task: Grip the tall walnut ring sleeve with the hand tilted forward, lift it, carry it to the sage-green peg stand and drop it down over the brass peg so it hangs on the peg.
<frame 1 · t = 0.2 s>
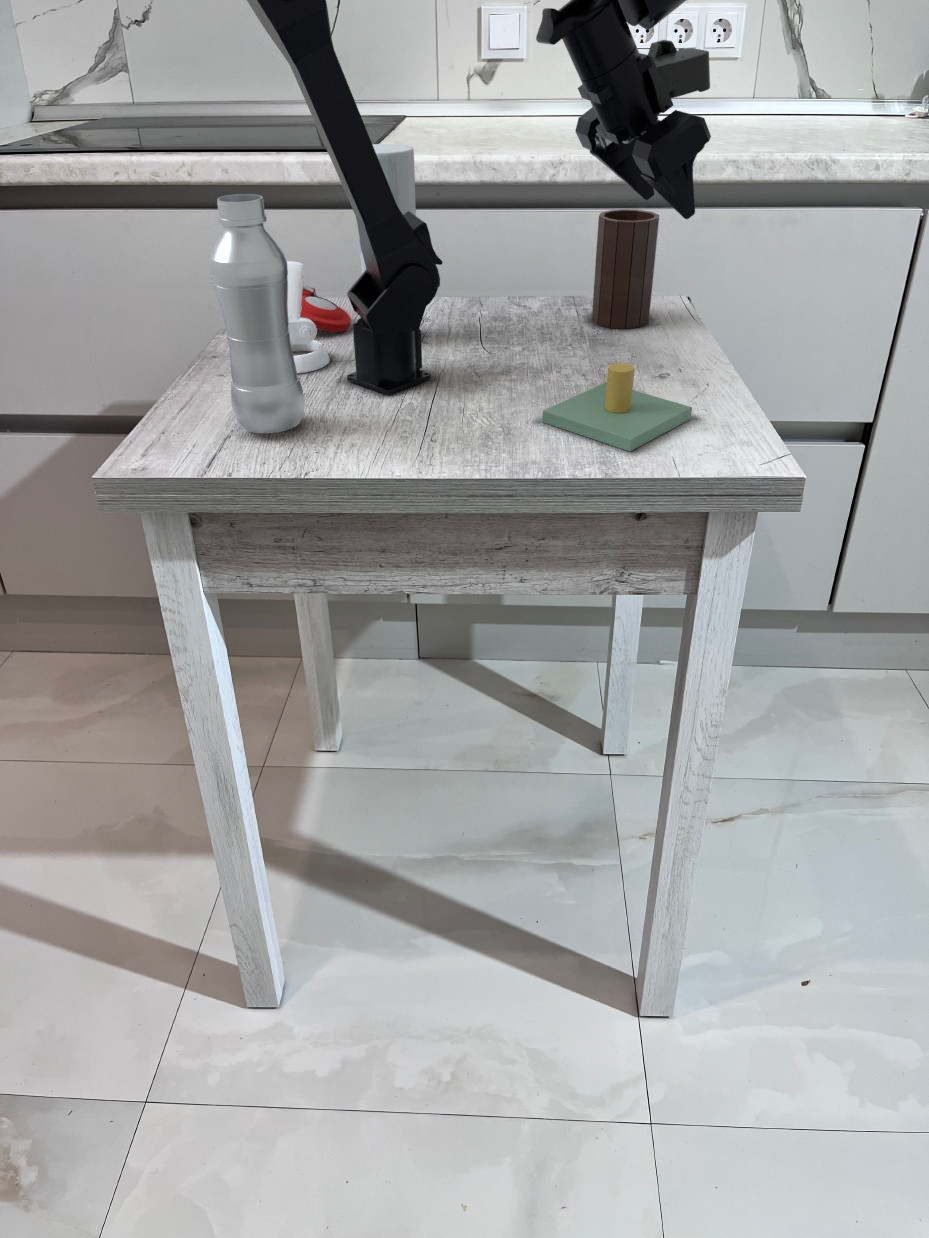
hand: (669, 206, 97), 15 cm above the table, tool tilted 30°, fingers open, 9 cm apart
plastic bottle: (271, 430, 88), on the table
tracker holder: (314, 325, 114), on the table
peg stand: (616, 420, 88), on the table
spray can: (393, 339, 109), on the table
sleeve: (620, 320, 114), on the table
white upright ring-based piece: (294, 363, 103), on the table
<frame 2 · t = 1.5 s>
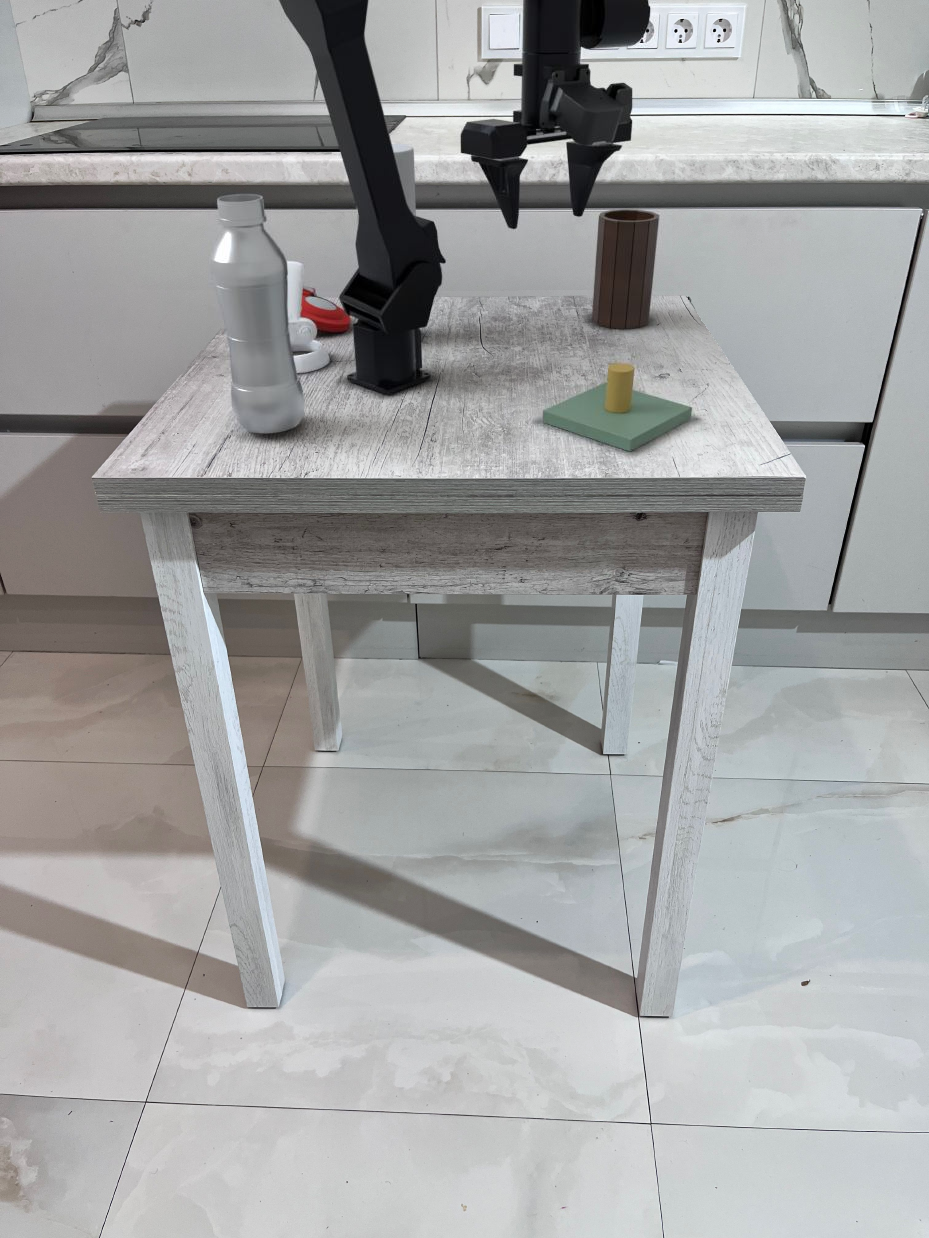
hand: (545, 222, 100), 13 cm above the table, tool pointing down, fingers open, 9 cm apart
nothing on the table moved.
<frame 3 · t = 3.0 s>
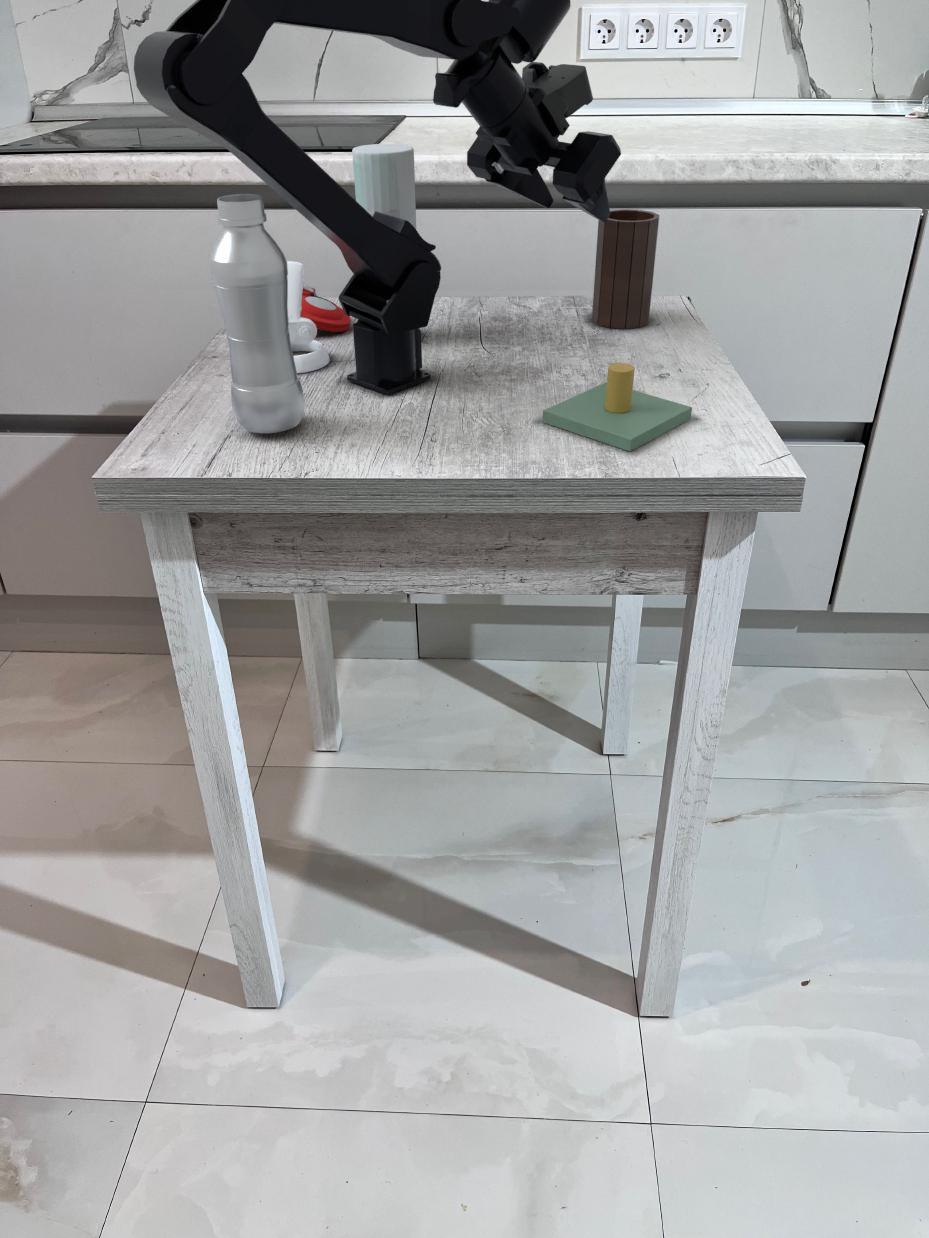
hand: (577, 211, 102), 13 cm above the table, tool tilted 45°, fingers open, 9 cm apart
nothing on the table moved.
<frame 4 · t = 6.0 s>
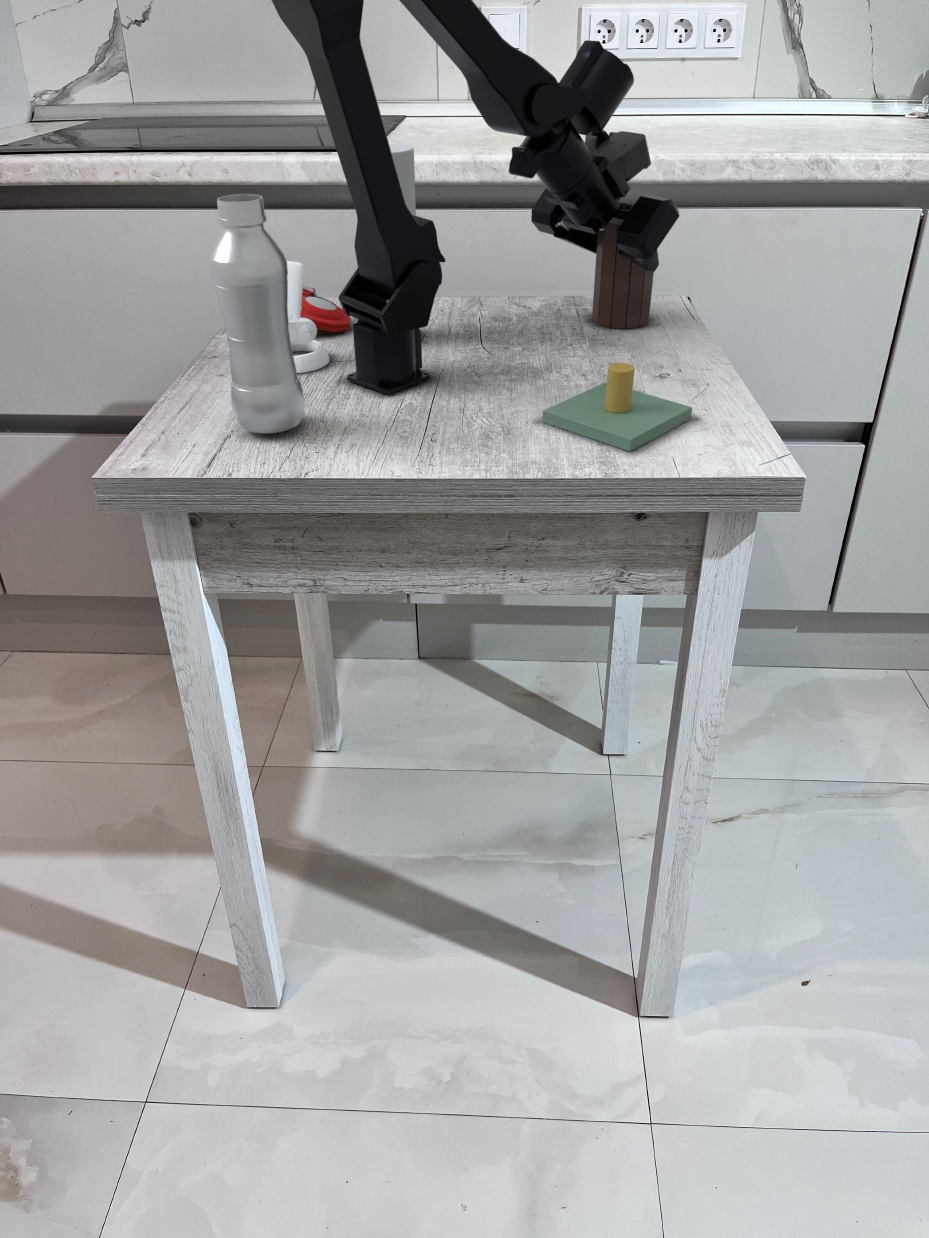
hand: (633, 262, 111), 7 cm above the table, tool tilted 45°, fingers closed on sleeve, 7 cm apart
sleeve: (620, 320, 114), on the table, touching gripper
everything else where it was.
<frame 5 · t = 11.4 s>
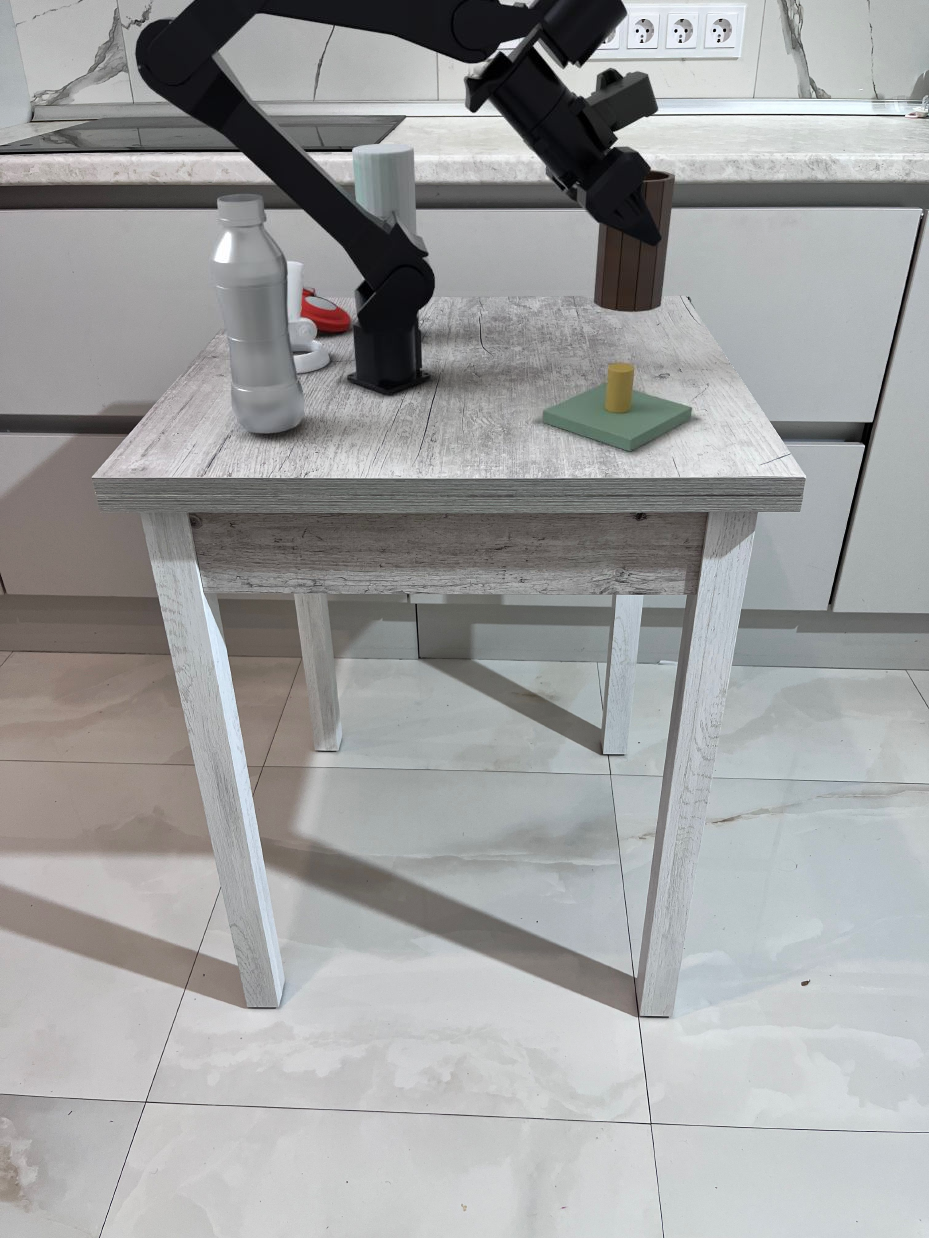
hand: (647, 234, 93), 14 cm above the table, tool tilted 45°, fingers closed on sleeve, 7 cm apart
sleeve: (627, 302, 96), point 7 cm above the table, touching gripper
everything else where it was.
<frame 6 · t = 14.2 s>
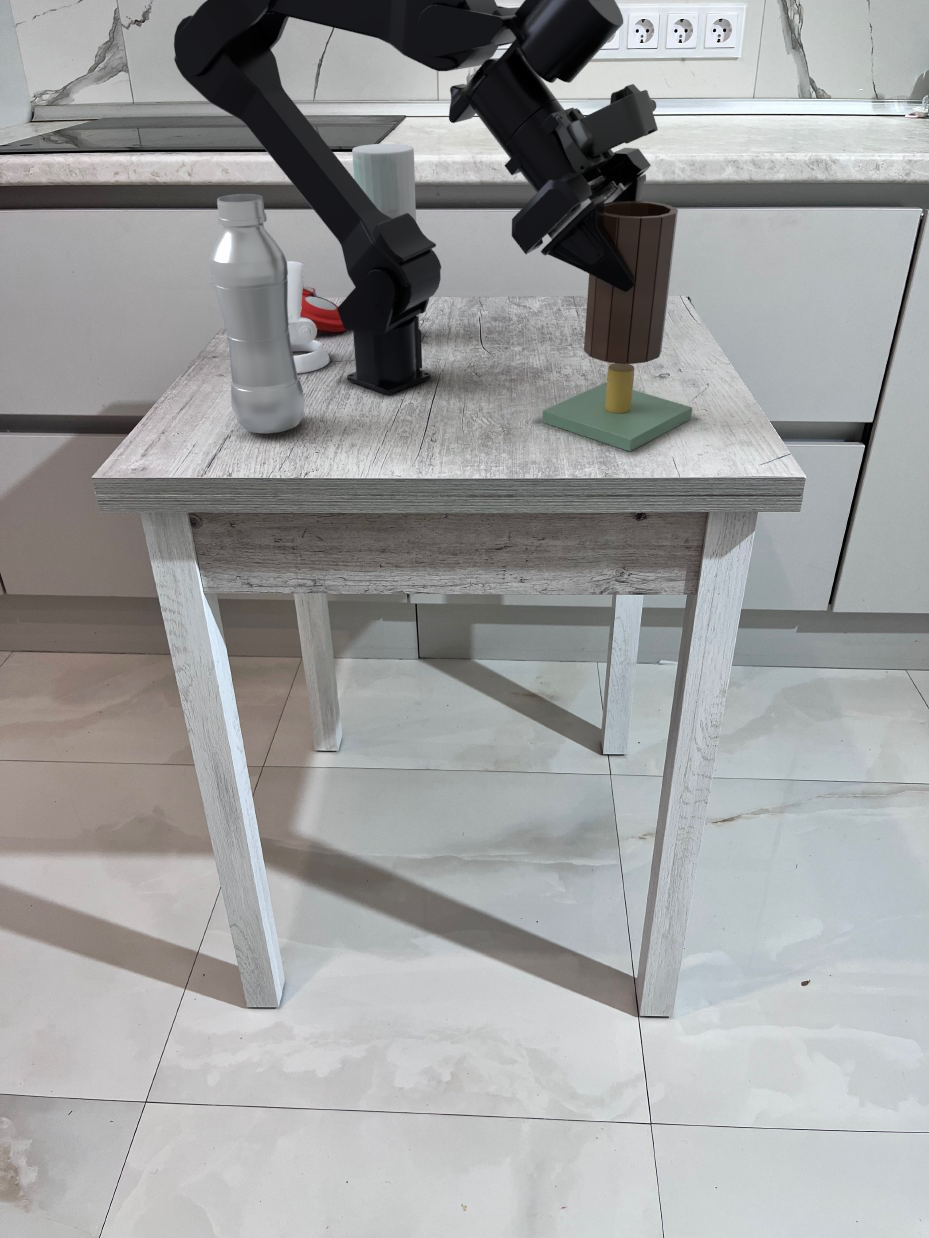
hand: (644, 277, 80), 13 cm above the table, tool tilted 45°, fingers closed on sleeve, 7 cm apart
sleeve: (622, 351, 84), point 7 cm above the table, touching gripper
everything else where it was.
when the fingers open (8 cm above the table, at t = 16.7 s): sleeve stays where it is, resting on peg stand.
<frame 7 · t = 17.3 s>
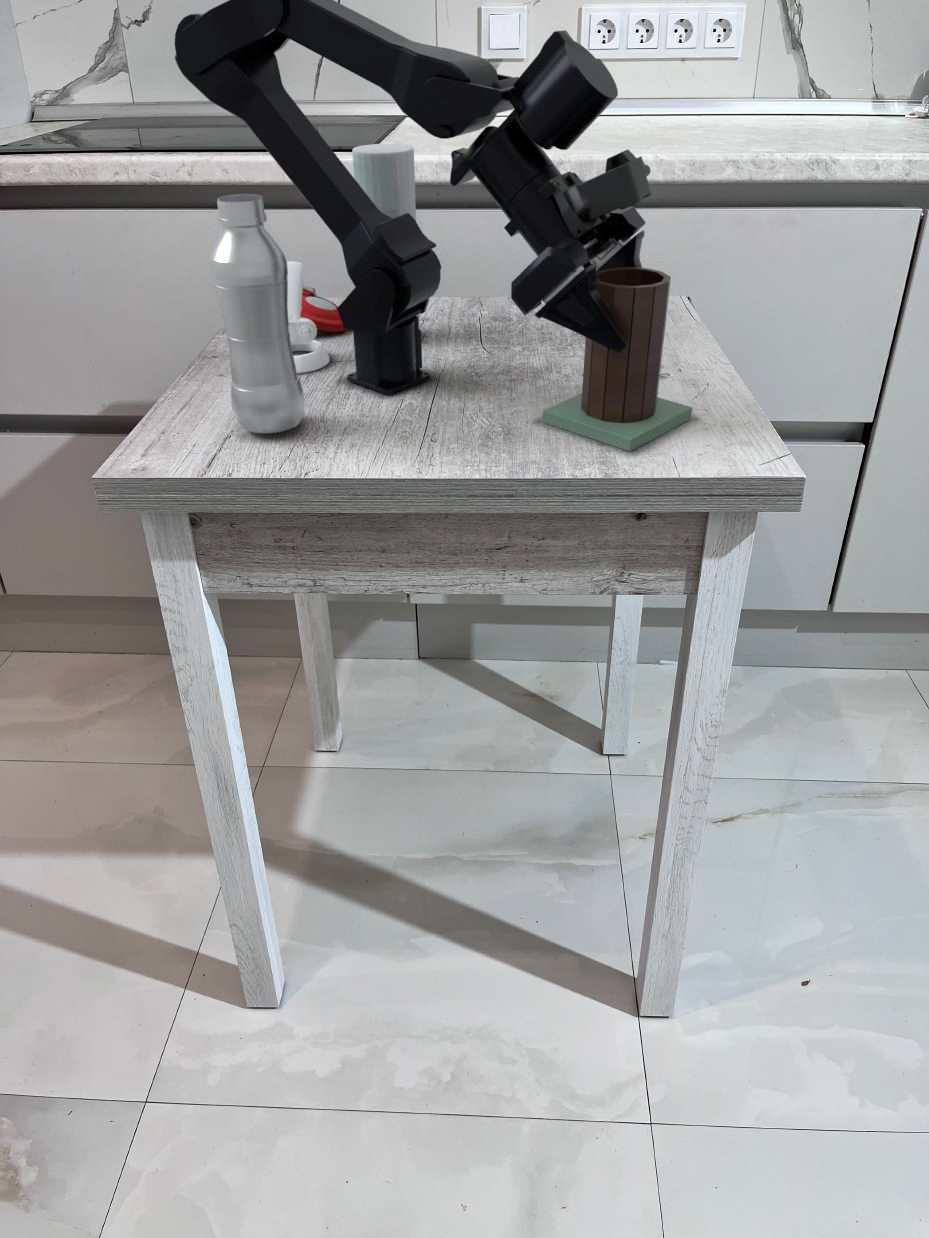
hand: (639, 333, 83), 8 cm above the table, tool tilted 45°, fingers open, 9 cm apart
sleeve: (618, 408, 87), point 1 cm above the table, touching peg stand
everything else where it was.
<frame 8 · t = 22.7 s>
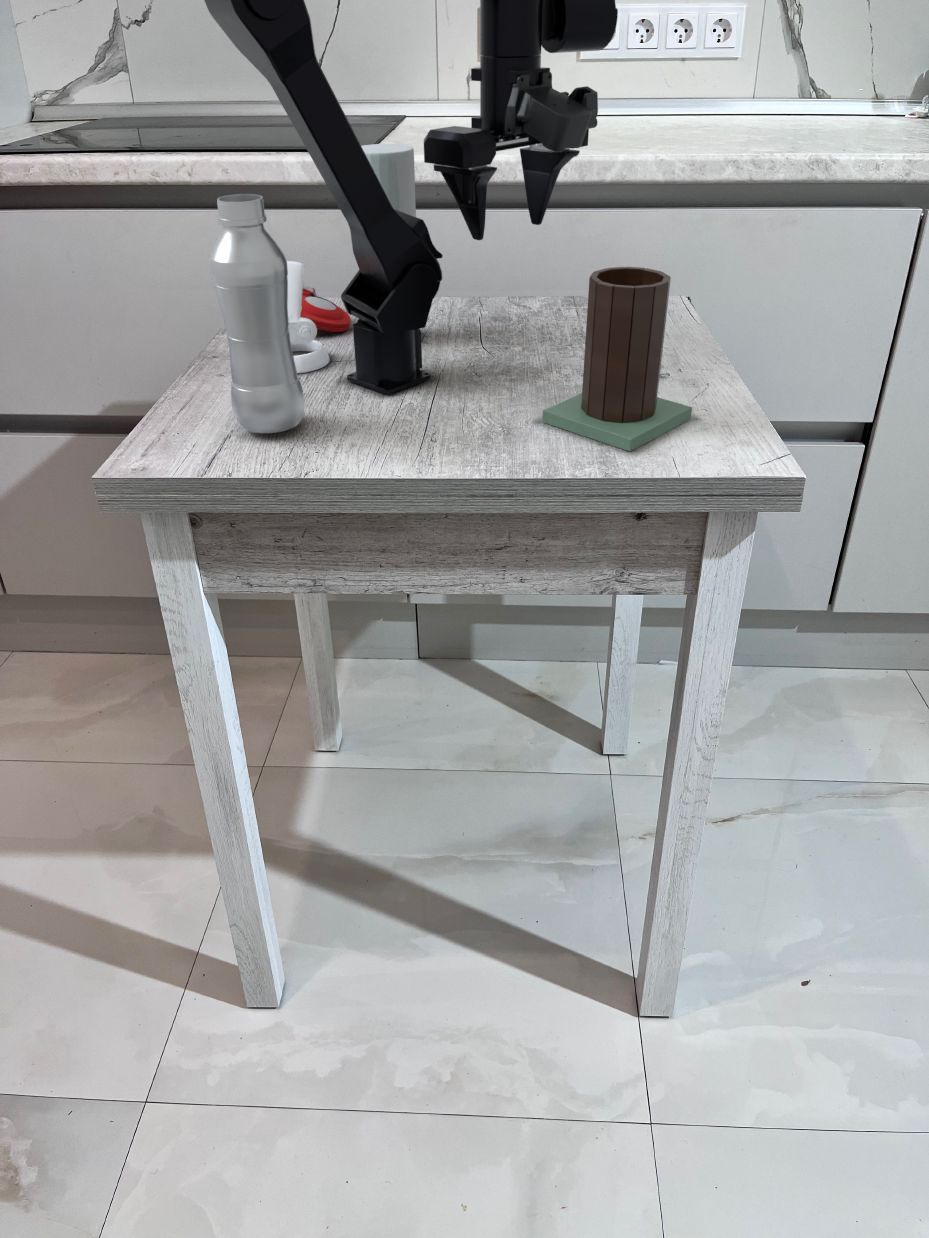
hand: (508, 231, 96), 13 cm above the table, tool pointing down, fingers open, 9 cm apart
nothing on the table moved.
at the end: sleeve 0.0 cm off-centre on the peg stand, point 1.2 cm above the peg stand's base; sleeve tilted 0° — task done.
